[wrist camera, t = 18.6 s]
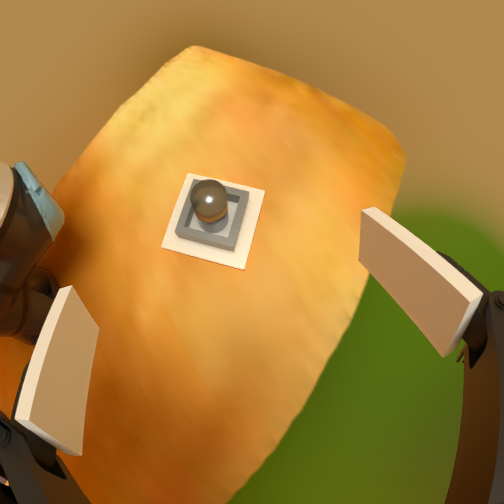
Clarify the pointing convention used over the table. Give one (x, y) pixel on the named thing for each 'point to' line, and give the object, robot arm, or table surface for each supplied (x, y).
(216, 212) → the glossy bronze cylinder
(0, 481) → the container
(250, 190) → the square socket
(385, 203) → the table surface
